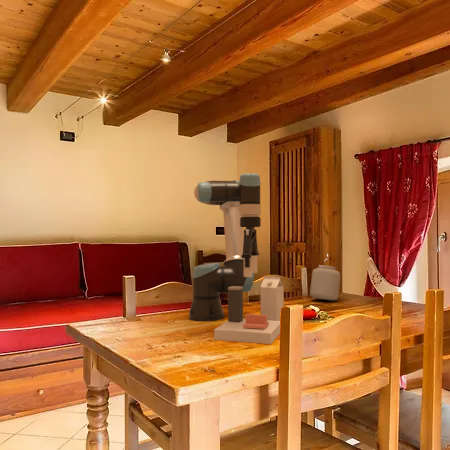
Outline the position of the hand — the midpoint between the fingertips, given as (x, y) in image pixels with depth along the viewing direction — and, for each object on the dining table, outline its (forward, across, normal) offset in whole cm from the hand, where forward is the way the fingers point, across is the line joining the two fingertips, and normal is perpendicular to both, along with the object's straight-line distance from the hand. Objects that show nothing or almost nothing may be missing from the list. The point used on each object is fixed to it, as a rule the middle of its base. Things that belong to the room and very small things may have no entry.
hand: (250, 274), depth 155 cm
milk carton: (+22, -20, +6) cm, 30 cm away
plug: (+18, -6, -7) cm, 20 cm away
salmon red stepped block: (+18, +3, +2) cm, 18 cm away
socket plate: (+22, +1, 0) cm, 22 cm away
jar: (+22, -82, +28) cm, 89 cm away
